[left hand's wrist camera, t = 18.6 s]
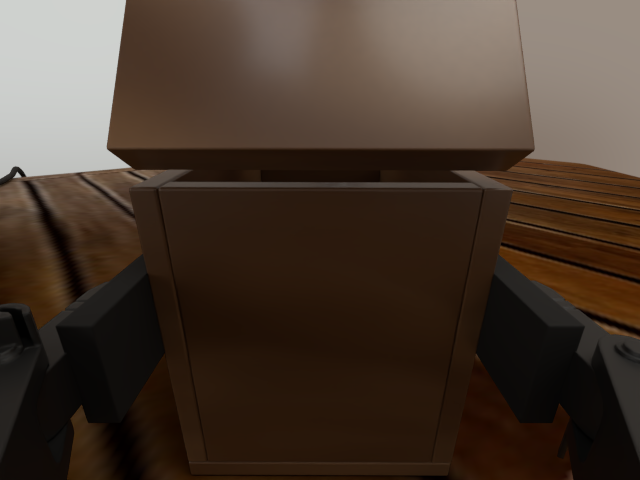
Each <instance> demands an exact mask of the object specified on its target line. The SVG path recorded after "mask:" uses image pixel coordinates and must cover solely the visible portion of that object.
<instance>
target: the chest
mask: <svg viewBox="0 0 640 480" xmlns="http://www.w3.org/2000/svg"><path fill="white" fill-rule="evenodd" d="M129 192H130V197H131V201H132V206H133V210H134V215H135V219H136V224H137V229H138V233H139V238H140V242H141V247H142V251H143V256H144V261H145V265H146V270H147V274H148V279H149V283H150V288H151V292H152V297H153V302H154V306H155V311H156V315H157V320H158V324H159V329H160V333H161V338H162V342H163V347H164V351H165V356H166V361H167V366H168V370H169V375H170V379H171V384H172V388H173V393H174V398H175V402H176V407H177V411H178V416H179V420H180V425H181V429H182V434H183V439H184V443H185V448H186V452H187V457H188V461H189V466H190V471H191V474H192V475H418V476H447V475H448V473H449V468H450V463H451V461H452V456H453V452H454V447H455V443H456V439H457V434H458V430H459V425H460V421H461V417H462V412H463V408H464V403H465V399H466V395H467V390H468V386H469V381H470V377H471V373H472V368H473V364H474V359H475V355H476V350H477V346H478V342H479V337H480V333H481V328H482V324H483V319H484V315H485V310H486V306H487V301H488V297H489V293H490V288H491V284H492V279H493V275H494V271H495V267H496V263H497V258H498V254H499V249H500V245H501V241H502V236H503V232H504V227H505V223H506V219H507V214H508V210H509V205H510V201H511V197H512V192H513V189H512V188H509V187H507V186H505V185H503V184H501V183H499V182H497V181H495V180H492V179H490V178H488V177H486V176H484V175H482V174H480V173H478V172H475V171H416V170H167V171H165V172H163V173H160V174H158V175H156V176H154V177H152V178H150V179H148V180H145V181H143V182H141V183H139V184H137V185H135V186H133V187H130V189H129Z"/></svg>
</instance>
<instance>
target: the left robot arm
mask: <svg viewBox="0 0 640 480" xmlns="http://www.w3.org/2000/svg"><path fill="white" fill-rule="evenodd" d="M17 172H18V173H19V174H20V176H21V177H27V176H26V175H25V173H24V172H23V171H22V170H21V169H20V168H19V167H13V168H12V170H11V172H10V174H8V175H6V176H5V177H3V178H1V179H0V185H1V184H3V183H5V182H7V181H9V180H10V179H12V178H13V177H14V176H15V175H16V173H17ZM164 353H165V351H164V347H163V342H162V338H161V333H160V329H159V324H158V320H157V315H156V311H155V306H154V302H153V297H152V292H151V288H150V283H149V279H148V274H147V270H146V265H145V261H144V256H143V254H142V255H141V256H140V257H138V258H137V259H136V260H135V261H133V262H132V263H131V264H130V265H129V266H127V267H126V268H125V269H124V270H123V271H121V272H120V273H119V274H118V275H117V276H115V277H114V278H113V279H112V280H111V281H109V282H105V283H103V284H101V285H99V286H96V287H94V288H92V289H90V290H88V291H87V292H86V293H85V294H83V295H82V296H81V297H79V298H78V299H77V300H76V302H73V303H72V304H71V305H69V306H68V307H67V308H66V309H65V311H62V312H61V313H59V314H58V315H57V316H55V317H54V318H53V319H52V320H50V321H49V322H48V323H47V324H45V325H44V326H43V327H42V328H40V329H39V330H38V329H37V326H36V324H35V321H34V318H33V315H32V313H31V310H30V307H29V306H27V305H25V304H17V303H10V304H3V305H0V480H67V475H68V469H69V462H70V456H71V450H72V443H73V437H74V430H73V425H72V422H71V420H70V418H71V417H72V416H73V415H74V413H75V412H76V411H77V410H78V408H79V407H80V406H81V405H82V406H83V409H84V412H85V415H86V418H87V421H88V423H120V422H121V421H122V419H123V418H124V416H125V415H126V413H127V411H128V410H129V408H130V407H131V405H132V403H133V402H134V400H135V399H136V397H137V396H138V394H139V392H140V391H141V389H142V388H143V386H144V384H145V383H146V381H147V380H148V378H149V377H150V375H151V373H152V372H153V370H154V369H155V367H156V366H157V364H158V362H159V361H160V359H161V358H162V356H163V354H164ZM476 354H477V355H478V357H479V359H480V360H481V362H482V363H483V365H484V366H485V368H486V370H487V371H488V373H489V374H490V376H491V377H492V379H493V381H494V382H495V384H496V385H497V387H498V389H499V390H500V392H501V393H502V395H503V396H504V398H505V400H506V401H507V403H508V404H509V406H510V408H511V409H512V411H513V412H514V414H515V415H516V417H517V419H518V420H519V422H520V423H552V422H553V419H554V416H555V413H556V410H557V408H558V405H559V403H560V405H561V406H562V407H563V408H564V410H565V411H566V412H567V413H568V415H569V416H570V420H569V422H568V425H567V428H566V430H565V433H564V436H563V439H562V441H561V444H560V447H559V450H558V456H557V457H560V458H562V459H563V458H564V455H565V452H566V451H567V450H569V455H570V461H571V468H572V474H573V480H640V340H639V339H636V338H632V337H629V336H622V335H616V334H615V335H610V334H609V333H608V332H606V331H605V330H604V329H602V328H601V327H600V326H599V325H597V324H596V323H595V322H594V321H592V320H591V319H590V318H588V317H587V316H586V315H585V314H583V313H582V312H581V311H580V310H576V307H574V306H573V305H572V304H571V303H569V302H568V301H565V299H564V298H563V297H562V296H560V295H559V294H558V293H557V292H555V291H554V290H553V289H551V288H549V287H547V286H545V285H543V284H541V283H539V282H536V281H530V280H529V279H528V278H526V277H525V276H524V275H523V274H521V273H520V272H519V271H518V270H517V269H515V268H514V267H513V266H512V265H511V264H509V263H508V262H507V261H506V260H505V259H503V258H502V257H501V256H500V255H499V254H498V258H497V263H496V267H495V271H494V275H493V279H492V284H491V288H490V293H489V297H488V301H487V306H486V310H485V315H484V319H483V324H482V328H481V333H480V337H479V342H478V346H477V350H476Z"/></svg>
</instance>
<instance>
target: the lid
mask: <svg viewBox="0 0 640 480" xmlns="http://www.w3.org/2000/svg"><path fill="white" fill-rule="evenodd" d="M107 149H108V150H109V151H110V152H112V153H113V154H114V155H116V156H117V157H119V158H120V159H121V160H122V161H124V162H125V163H127V164H128V165H129V166H131V167H132V168H133V169H135V170H416V171H506V170H508V169H510V168H511V167H512V166H514V165H515V164H517V163H518V162H519V161H521V160H522V159H523V158H525V157H526V156H528V155H529V154H530V153H532V152H533V151H534V149H535V146H534V138H533V130H532V123H531V115H530V107H529V99H528V91H527V83H526V75H525V67H524V59H523V51H522V44H521V36H520V28H519V20H518V12H517V4H516V0H126V6H125V14H124V21H123V29H122V36H121V44H120V51H119V59H118V67H117V74H116V82H115V89H114V96H113V104H112V112H111V119H110V127H109V134H108V142H107Z"/></svg>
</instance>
